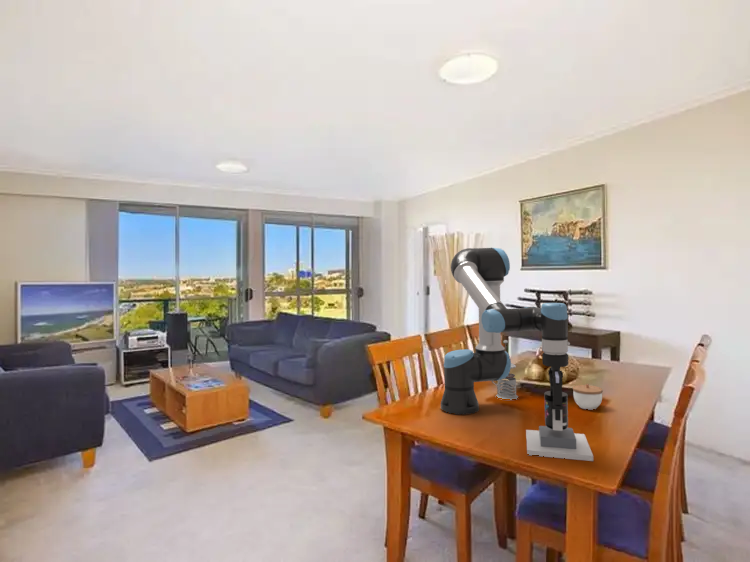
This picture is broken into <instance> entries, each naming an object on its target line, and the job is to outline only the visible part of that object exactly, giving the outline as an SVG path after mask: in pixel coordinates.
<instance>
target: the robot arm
mask: <svg viewBox="0 0 750 562" xmlns="http://www.w3.org/2000/svg"><path fill="white" fill-rule="evenodd" d="M510 264H511V263H510V259H509V257H508V254H507V252H506V251H505V250H504V249H502V248H499V247H478V248H477V247H475V248H474V247H473V248H471V247H470V248H463V249H461V250H459V251H458V252H457V253H456V254H454V256H453V258H452V259H451V263H450V271H451V275H452V277H453V278H454V280H455V281H456V282H457V283H459V284H461V286H462V287H463V288H464V290H465V291H466V292H467V294H468V295H469V296H470V298H471V299H472V300H473V302H474V304H475V305H476V306H477V308H478V344H477V345H476V346H475V352H474V351H473V350H471V349H467V348H466V349H456V350H452V351H448V352H447V353H446V354H445V355H444V356H443V357H444V358H443V359H444V361H443V373H444V374H443V375H444V377H443V379H444V391H443V393H442V397H441V398H442V399H441V401H440V410H441V409H442V410H444V411H446V412H445V413H447V412H449V413H448V414H451V413H455V414H454V415H461V414H462V415H471V413H472V414H475V412H476V413H477V412H479V410H480V407H479V405H480V404H479V401H478V398H477V395H476V391H475V385H474V384H475V383H480V382H492V381H493V382H495V381H497V382H498V380H506V379H505V378H506V377H507V376H508V374H510V372H511V370H512V368H511V363H512V361H511V358H510V354H509V353H508V352H507V350H506V347H505V346H504V345H502V342H501V341H502V337H501V333H510V332H511V333H512V332H525V331H526V332H527V331H529V332H530V331H536V332H537V331H538V332H541V351H542V355H541V356H542V359H541V360H542V364H543V366H546V367H548V368H549V370H548V379H549V380H548V381H549V387H550V389H549V391H552V393H553V407H551V409H552V411H553V430H558V431H563V425H562V409H563V406H562V392H563V377H564V372H563V371H562V370H561V368H562V367H563V368H565V367H568V366H569V354H568V352H569V346H570V345H571V343H570V341H568V339H569V338H568V337H569V334H568V333H569V327H568V326H569V324H568V323H569V321H568V318H569V316H568V307H567V305H566V304H565V303H562V302H545V303H542V304H541V307H536V306H526V307H525V306H524V307H521V308H507V307H506V305H505V304H504V303H503V302H502V301H501V284H502V283H504V281H505V277H506V276H508V275H509V273H510V271H511V270H510V269H511V265H510ZM442 410H441V411H442ZM444 411H443V412H444Z"/></svg>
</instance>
